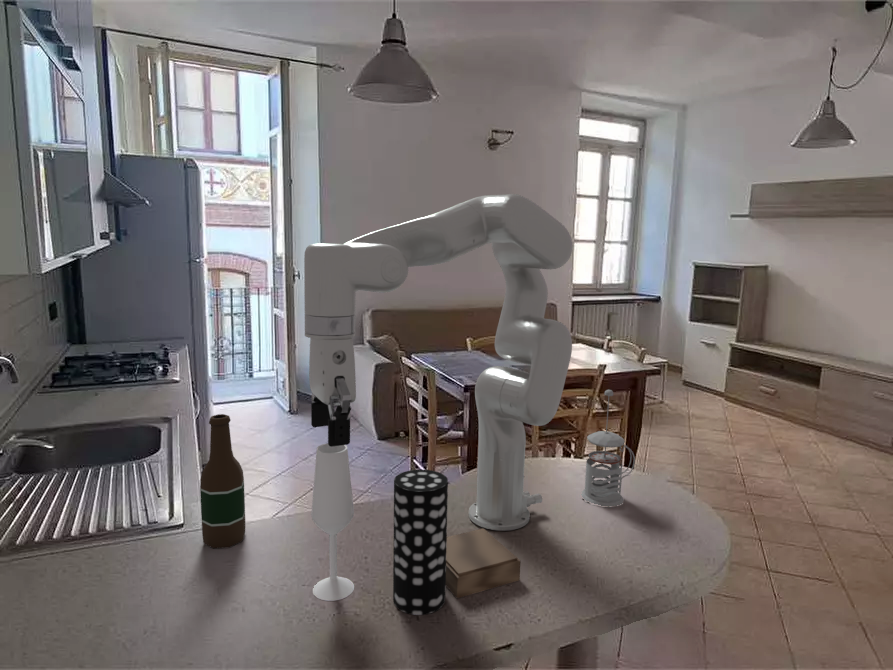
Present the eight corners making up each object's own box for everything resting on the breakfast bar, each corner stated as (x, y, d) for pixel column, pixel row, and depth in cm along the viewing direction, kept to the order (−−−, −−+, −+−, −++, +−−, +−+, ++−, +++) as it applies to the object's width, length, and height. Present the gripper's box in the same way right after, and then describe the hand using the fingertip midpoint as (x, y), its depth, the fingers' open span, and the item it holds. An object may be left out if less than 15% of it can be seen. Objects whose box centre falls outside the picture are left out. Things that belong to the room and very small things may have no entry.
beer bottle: (232, 552, 106) (226, 424, 102) (193, 546, 107) (186, 420, 104) (254, 531, 113) (250, 411, 110) (218, 526, 115) (212, 408, 111)
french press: (573, 488, 136) (579, 384, 132) (621, 487, 137) (629, 384, 133) (588, 508, 127) (595, 395, 122) (639, 506, 128) (648, 395, 124)
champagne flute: (308, 600, 92) (305, 455, 88) (316, 576, 99) (314, 440, 95) (351, 601, 92) (350, 456, 89) (356, 576, 99) (356, 440, 95)
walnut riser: (483, 546, 110) (484, 526, 109) (519, 580, 99) (520, 558, 98) (425, 561, 104) (425, 540, 104) (457, 598, 94) (457, 575, 93)
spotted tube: (396, 582, 98) (397, 468, 94) (446, 584, 97) (448, 470, 94) (389, 614, 89) (390, 490, 86) (444, 616, 89) (447, 492, 86)
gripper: (373, 333, 83) (371, 449, 85) (337, 318, 98) (337, 417, 100) (320, 336, 79) (320, 456, 82) (292, 319, 94) (293, 422, 97)
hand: (329, 435), depth 91 cm, fingers open, 9 cm apart
